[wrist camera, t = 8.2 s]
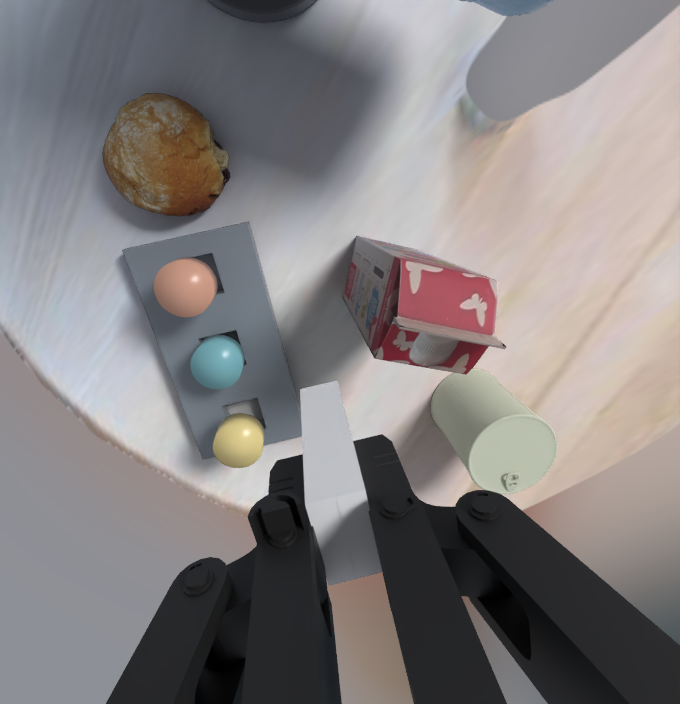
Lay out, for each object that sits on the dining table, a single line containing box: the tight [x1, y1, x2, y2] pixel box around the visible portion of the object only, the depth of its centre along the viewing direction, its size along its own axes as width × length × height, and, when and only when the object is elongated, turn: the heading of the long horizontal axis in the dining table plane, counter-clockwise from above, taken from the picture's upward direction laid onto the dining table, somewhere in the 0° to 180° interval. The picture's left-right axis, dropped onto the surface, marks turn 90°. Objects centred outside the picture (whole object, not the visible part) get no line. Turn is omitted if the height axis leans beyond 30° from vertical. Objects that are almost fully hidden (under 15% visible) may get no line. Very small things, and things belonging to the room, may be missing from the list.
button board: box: [122, 222, 302, 459], centre depth 44 cm, size 24×12×2 cm, turn 12°
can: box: [431, 368, 557, 494], centre depth 46 cm, size 9×9×12 cm
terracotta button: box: [154, 257, 218, 317], centre depth 37 cm, size 5×5×4 cm
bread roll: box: [103, 93, 230, 216], centre depth 37 cm, size 10×10×8 cm
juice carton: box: [343, 236, 506, 375], centre depth 34 cm, size 7×7×22 cm
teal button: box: [190, 335, 245, 389], centre depth 42 cm, size 5×5×4 cm
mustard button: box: [213, 413, 264, 468], centre depth 43 cm, size 5×5×4 cm
